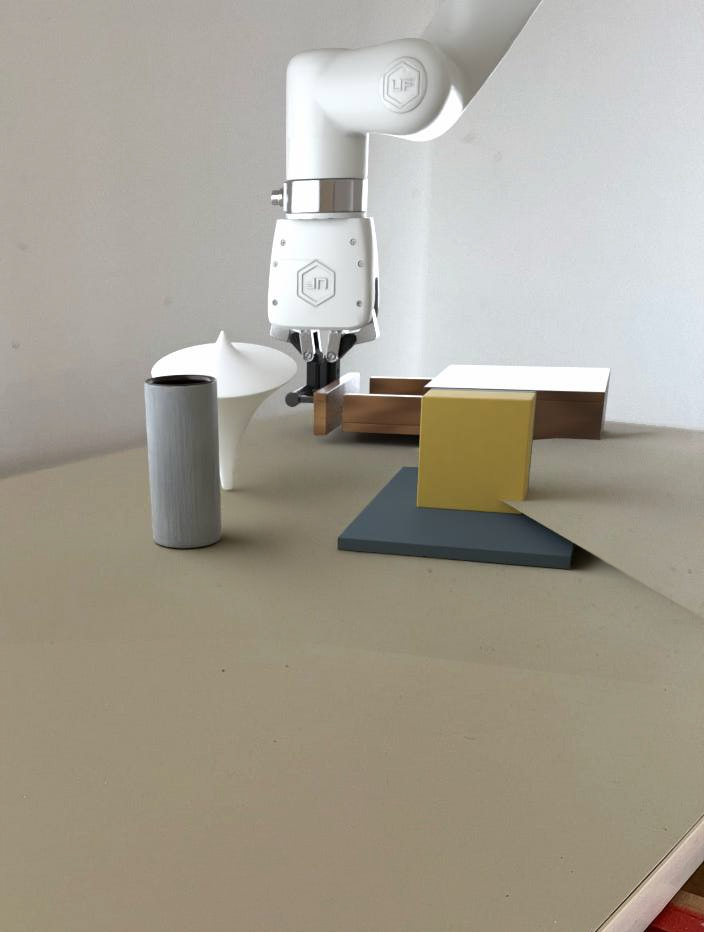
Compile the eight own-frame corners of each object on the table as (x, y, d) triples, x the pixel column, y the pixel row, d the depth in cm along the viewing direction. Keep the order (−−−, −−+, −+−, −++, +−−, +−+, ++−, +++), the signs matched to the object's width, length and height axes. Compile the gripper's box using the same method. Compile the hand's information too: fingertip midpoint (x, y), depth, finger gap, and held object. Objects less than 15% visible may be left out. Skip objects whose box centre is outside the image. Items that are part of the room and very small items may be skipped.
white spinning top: (300, 505, 75) (300, 334, 70) (152, 508, 75) (142, 338, 70) (294, 472, 84) (294, 319, 79) (163, 475, 84) (155, 323, 80)
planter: (221, 548, 66) (216, 384, 62) (150, 550, 66) (140, 386, 62) (222, 528, 70) (217, 373, 66) (155, 529, 70) (147, 375, 66)
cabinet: (420, 452, 90) (423, 386, 88) (447, 422, 101) (450, 364, 99) (597, 460, 85) (605, 392, 83) (603, 429, 96) (610, 368, 94)
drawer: (272, 433, 95) (272, 391, 93) (310, 409, 105) (310, 371, 104) (463, 442, 89) (466, 397, 87) (483, 416, 99) (486, 376, 98)
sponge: (416, 507, 70) (421, 396, 67) (426, 494, 73) (431, 388, 70) (521, 514, 68) (531, 400, 65) (527, 501, 71) (537, 391, 68)
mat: (402, 476, 82) (403, 466, 82) (587, 486, 77) (588, 476, 77) (337, 549, 65) (337, 537, 64) (569, 569, 60) (571, 556, 60)
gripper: (236, 204, 95) (239, 404, 102) (397, 200, 90) (388, 411, 97) (263, 203, 101) (264, 392, 108) (414, 200, 96) (404, 398, 103)
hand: (322, 401), depth 103 cm, fingers closed
